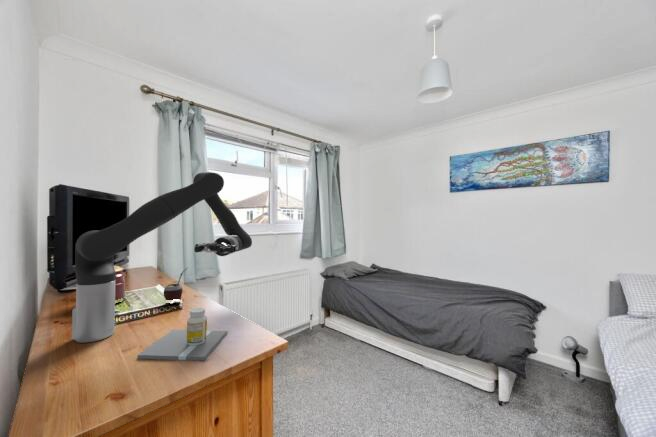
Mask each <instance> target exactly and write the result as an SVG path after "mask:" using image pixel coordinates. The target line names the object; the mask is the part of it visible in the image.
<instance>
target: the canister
mask: <svg viewBox="0 0 656 437" xmlns="http://www.w3.org/2000/svg"><path fill="white" fill-rule="evenodd" d="M114 269H115V273H116V277H115V300H118V299H121V298H124V297H125V298H126V282H127V281H126V280H125V276H126V275H127V274H126V272H124V267H121V266H120V265H114Z"/></svg>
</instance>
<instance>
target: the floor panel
mask: <svg viewBox="0 0 656 437" xmlns="http://www.w3.org/2000/svg"><path fill="white" fill-rule="evenodd" d="M227 335H228V330H211V329H210V330H209V329H207V335H206V341H205V342H204V343H203V344H200V345H196V346H190V345H188V344H187V329H172V330H170V331H169V332H167V333H166V334H165V335H163V336H161V338H158V340H155V342H153V343H152V344H151V345H149V346H148V347H146V348H145V349H144V350H142V351H141V352H139V353H138V354H137V359H138V360H168V361H169V360H173V361H175V360H176V361H177V360H178V361H202V362H203V361H205V360H206V359H207V358H208V357H209V356H210V355H211V354H212V353H213V351H214V350H215V349H216V347H217V346H218V345H219V344H220V343H221V341H222V340H223V339H224V338H225V337H227Z"/></svg>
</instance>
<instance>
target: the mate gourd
mask: <svg viewBox="0 0 656 437" xmlns="http://www.w3.org/2000/svg"><path fill="white" fill-rule="evenodd" d="M186 270H188V267H186V268H185V269H184V270H182V272H181V273H180V274H179V275H180V276H179V277H178V278H179V279H178V280H177V283H170V284H167V285H166V286H165V288H164V290H163V297H164V300H165V301H166V300H173V299H180V301H181V300H182V296H183V290H184V289H183V286H182V285H181V284H179V283H180V281H181V278H182V277H183V275H184V272H185V271H186Z"/></svg>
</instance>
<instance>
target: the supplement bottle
mask: <svg viewBox="0 0 656 437" xmlns="http://www.w3.org/2000/svg"><path fill="white" fill-rule="evenodd" d="M205 314H206V309H205V308H204V307H195V308H192V309H190V310H189V317H188V318H187V322H186V330H187V344H188V345H190V346H196V345H200V344H203V343H204V342H205V341H206V335H207V330H208V328H207V327H208V317H207V315H205Z"/></svg>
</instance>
